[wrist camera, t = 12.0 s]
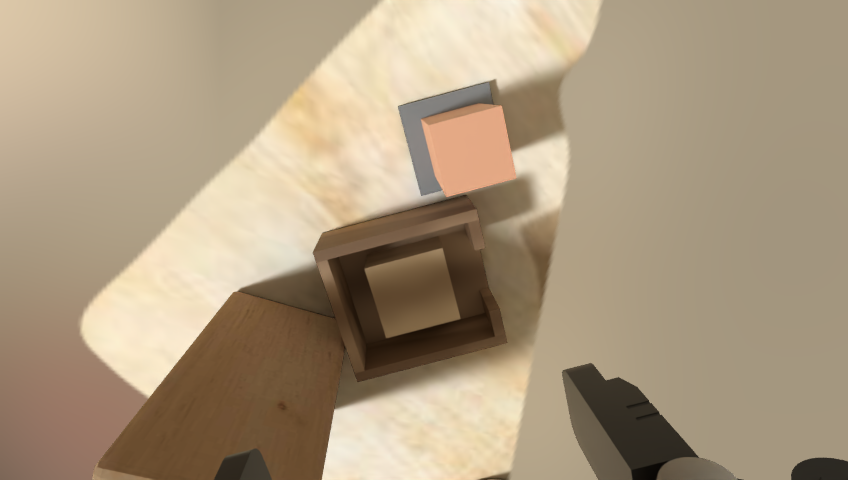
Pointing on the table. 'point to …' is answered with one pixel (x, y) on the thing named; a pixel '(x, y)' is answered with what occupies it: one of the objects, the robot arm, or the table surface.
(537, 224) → the table surface
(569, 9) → the table surface
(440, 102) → the pad
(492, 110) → the block
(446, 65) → the table surface
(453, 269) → the crate
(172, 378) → the wooden block
